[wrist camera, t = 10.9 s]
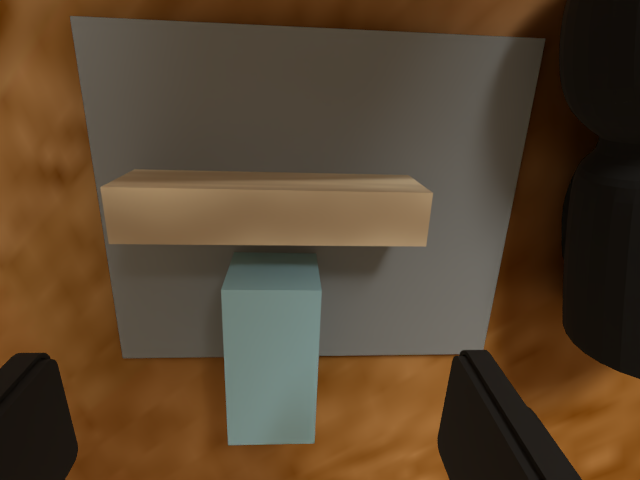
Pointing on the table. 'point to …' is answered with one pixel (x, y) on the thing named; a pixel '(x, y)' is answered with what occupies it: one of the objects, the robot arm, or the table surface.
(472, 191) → the panel
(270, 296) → the block
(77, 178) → the table surface
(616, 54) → the figurine
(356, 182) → the plank
